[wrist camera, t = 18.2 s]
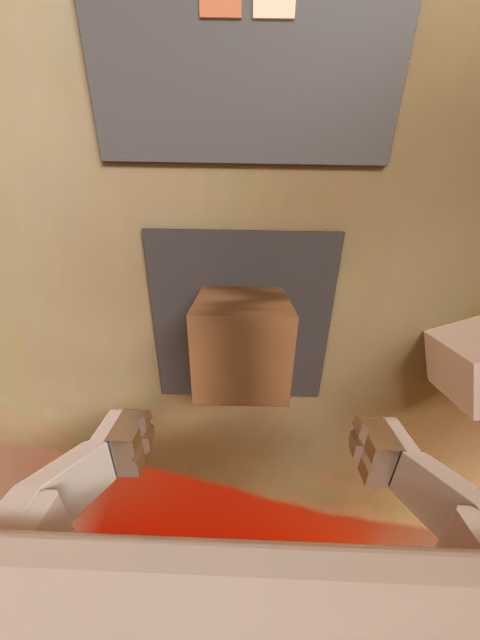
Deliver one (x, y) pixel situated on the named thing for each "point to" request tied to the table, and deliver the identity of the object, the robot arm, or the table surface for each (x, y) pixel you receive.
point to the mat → (241, 270)
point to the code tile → (247, 79)
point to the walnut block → (241, 346)
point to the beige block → (456, 363)
